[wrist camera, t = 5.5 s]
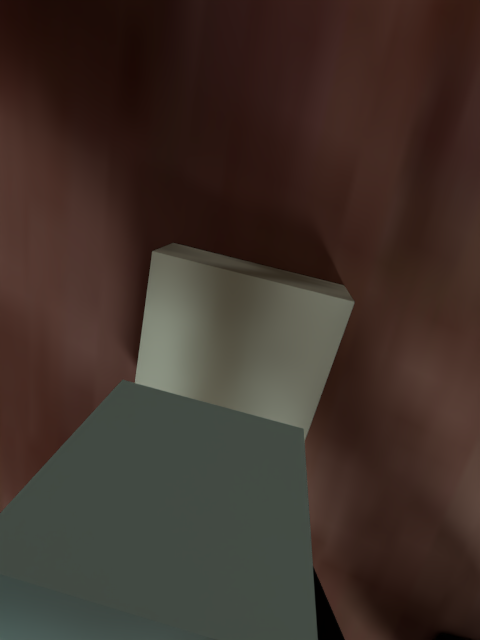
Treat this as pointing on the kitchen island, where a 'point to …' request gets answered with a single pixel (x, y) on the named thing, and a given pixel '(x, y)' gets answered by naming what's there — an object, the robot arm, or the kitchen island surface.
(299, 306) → the plinth
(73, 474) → the block
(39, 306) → the kitchen island surface
